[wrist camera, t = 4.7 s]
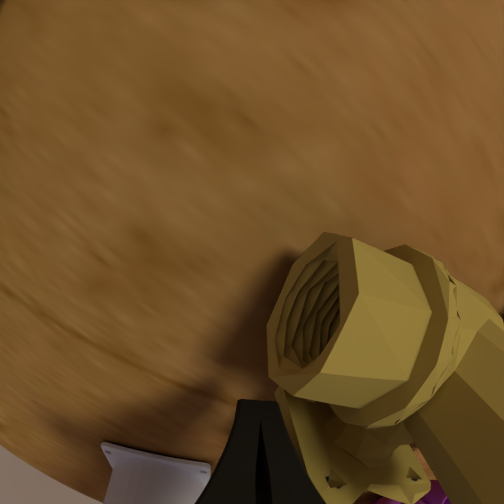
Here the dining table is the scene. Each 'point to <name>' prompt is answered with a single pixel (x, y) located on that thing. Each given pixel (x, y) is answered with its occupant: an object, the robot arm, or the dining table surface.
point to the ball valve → (388, 374)
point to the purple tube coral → (434, 500)
